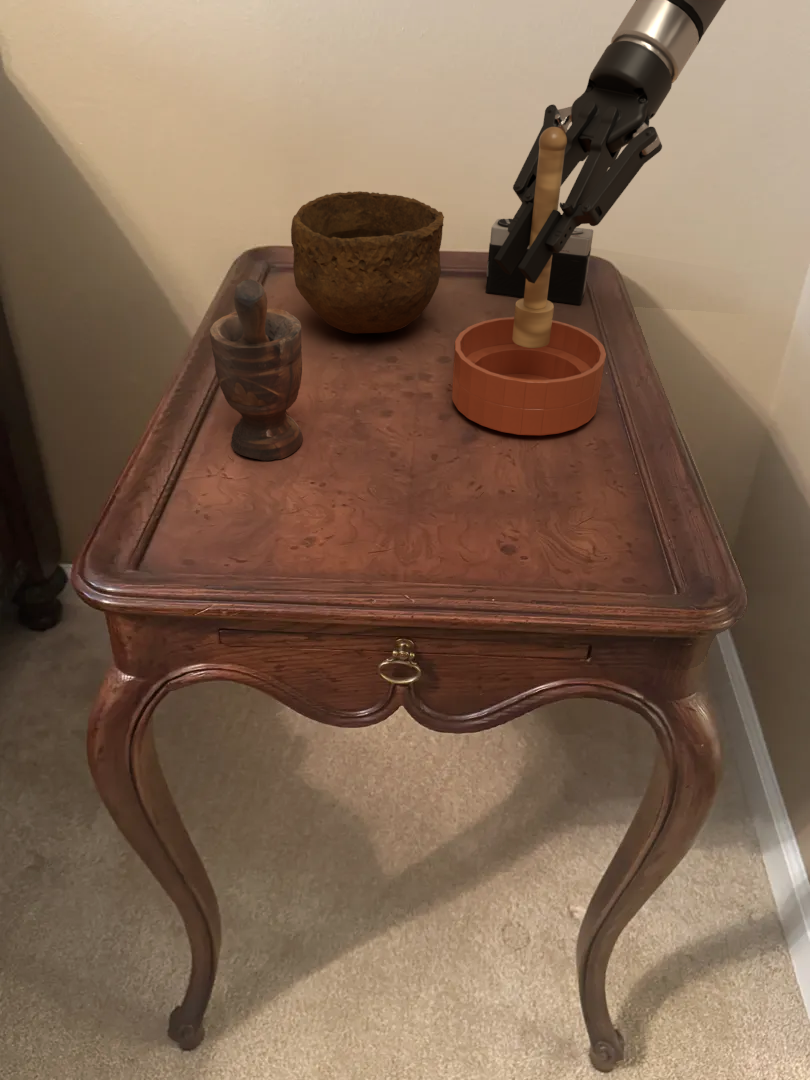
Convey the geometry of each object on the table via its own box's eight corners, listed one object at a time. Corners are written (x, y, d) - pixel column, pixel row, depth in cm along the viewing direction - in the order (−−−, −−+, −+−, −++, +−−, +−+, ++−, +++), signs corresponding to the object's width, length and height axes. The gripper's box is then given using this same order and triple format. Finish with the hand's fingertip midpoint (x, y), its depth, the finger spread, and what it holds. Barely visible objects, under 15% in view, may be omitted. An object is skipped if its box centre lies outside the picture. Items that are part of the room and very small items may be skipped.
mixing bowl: (603, 383, 104) (613, 327, 100) (586, 452, 92) (596, 392, 88) (469, 363, 108) (473, 309, 104) (435, 427, 95) (438, 368, 91)
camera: (594, 286, 128) (604, 217, 121) (577, 312, 121) (586, 240, 115) (504, 271, 132) (508, 203, 126) (482, 294, 126) (486, 224, 120)
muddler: (552, 335, 96) (578, 124, 83) (546, 350, 93) (573, 133, 80) (516, 330, 97) (536, 120, 84) (509, 345, 94) (529, 130, 81)
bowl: (453, 355, 109) (460, 235, 100) (301, 364, 107) (294, 240, 98) (427, 297, 124) (431, 186, 115) (292, 303, 122) (285, 190, 113)
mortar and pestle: (332, 468, 89) (325, 274, 76) (251, 490, 85) (229, 290, 73) (289, 417, 97) (276, 233, 85) (213, 434, 93) (188, 246, 81)
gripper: (718, 104, 86) (589, 313, 87) (589, 79, 94) (473, 269, 95) (701, 47, 79) (562, 273, 80) (565, 26, 88) (441, 230, 89)
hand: (514, 270), depth 88 cm, fingers closed on muddler, 2 cm apart
